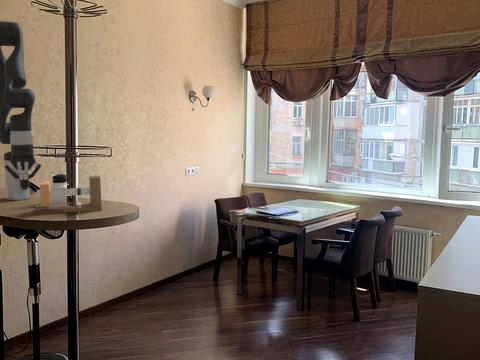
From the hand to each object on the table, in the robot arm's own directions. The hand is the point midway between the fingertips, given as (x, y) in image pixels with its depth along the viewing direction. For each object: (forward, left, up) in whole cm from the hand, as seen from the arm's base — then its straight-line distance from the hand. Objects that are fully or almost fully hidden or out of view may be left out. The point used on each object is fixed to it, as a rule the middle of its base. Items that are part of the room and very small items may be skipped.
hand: (25, 189), depth 171 cm
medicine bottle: (-17, +11, -9) cm, 22 cm away
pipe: (0, +14, -3) cm, 14 cm away
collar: (0, +7, -6) cm, 9 cm away
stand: (0, +15, -9) cm, 17 cm away
